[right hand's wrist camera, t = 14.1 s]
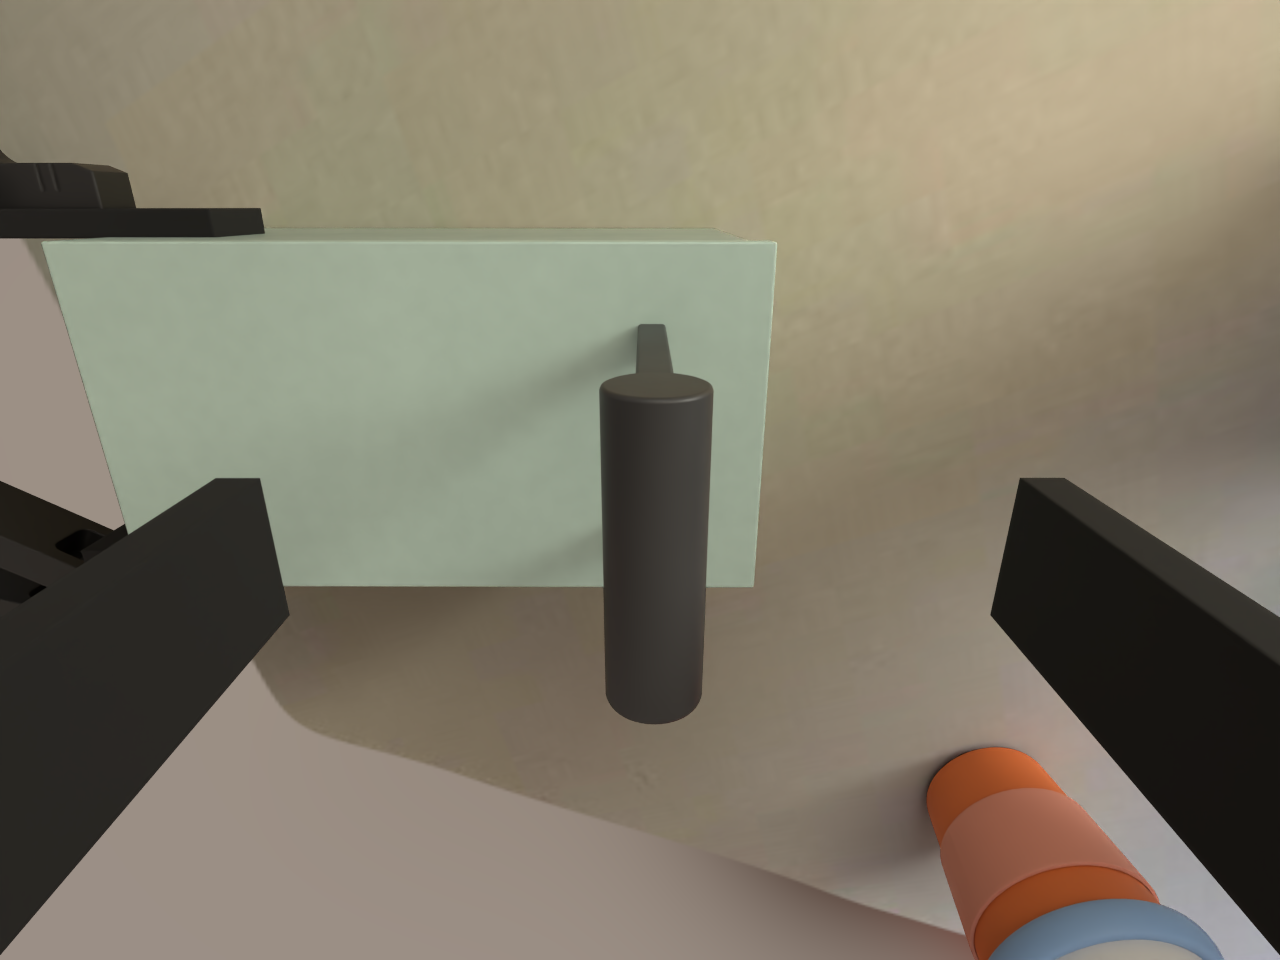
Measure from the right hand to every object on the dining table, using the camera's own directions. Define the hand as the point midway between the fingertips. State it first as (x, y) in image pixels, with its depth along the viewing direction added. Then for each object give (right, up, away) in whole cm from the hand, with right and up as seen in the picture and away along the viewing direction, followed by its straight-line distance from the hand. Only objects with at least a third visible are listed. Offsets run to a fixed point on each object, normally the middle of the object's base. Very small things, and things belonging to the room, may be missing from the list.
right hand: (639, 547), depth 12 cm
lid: (-6, +3, +7) cm, 10 cm away
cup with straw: (+18, -15, +24) cm, 34 cm away
